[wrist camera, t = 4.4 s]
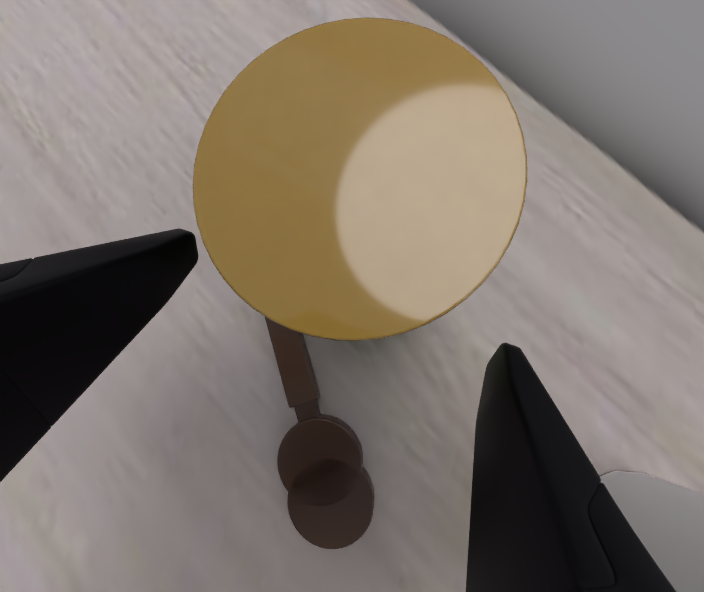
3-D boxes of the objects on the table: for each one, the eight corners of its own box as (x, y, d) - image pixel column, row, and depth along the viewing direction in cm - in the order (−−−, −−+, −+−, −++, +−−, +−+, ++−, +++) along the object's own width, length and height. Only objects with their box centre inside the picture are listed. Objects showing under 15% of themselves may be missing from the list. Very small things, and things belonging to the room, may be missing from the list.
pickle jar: (454, 314, 18) (584, 278, 6) (336, 350, 19) (236, 384, 7) (415, 200, 19) (459, -31, 7) (303, 238, 20) (160, 82, 8)
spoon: (384, 527, 18) (384, 537, 17) (304, 548, 18) (300, 559, 17) (286, 189, 20) (281, 182, 19) (217, 213, 21) (209, 207, 20)
